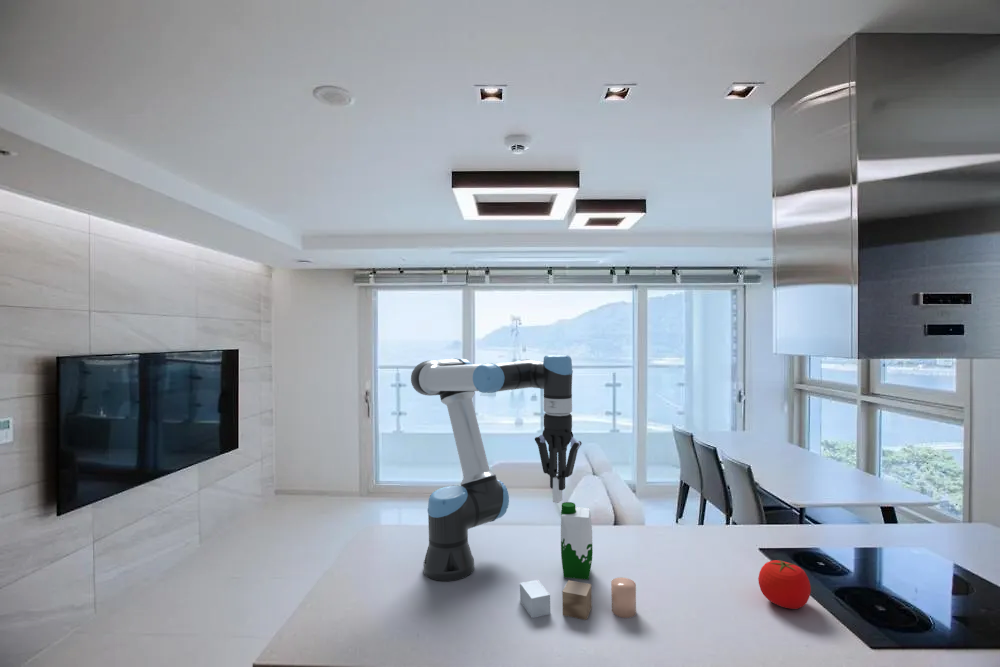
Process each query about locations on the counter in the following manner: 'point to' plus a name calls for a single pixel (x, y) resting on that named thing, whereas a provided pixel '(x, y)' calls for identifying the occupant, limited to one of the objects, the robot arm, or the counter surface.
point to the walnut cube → (577, 599)
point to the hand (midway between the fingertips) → (557, 500)
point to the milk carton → (576, 541)
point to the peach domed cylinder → (623, 597)
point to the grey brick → (535, 598)
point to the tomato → (784, 584)
